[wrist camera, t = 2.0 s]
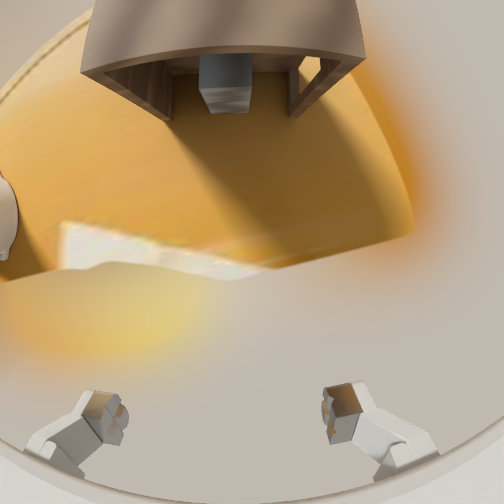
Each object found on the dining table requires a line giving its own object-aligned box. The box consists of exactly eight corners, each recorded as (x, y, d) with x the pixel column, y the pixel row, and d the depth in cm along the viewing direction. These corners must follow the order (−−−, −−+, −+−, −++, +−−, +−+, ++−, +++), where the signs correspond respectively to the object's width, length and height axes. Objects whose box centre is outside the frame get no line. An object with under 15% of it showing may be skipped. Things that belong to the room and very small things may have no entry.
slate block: (211, 114, 33) (198, 89, 22) (211, 81, 32) (200, 46, 20) (248, 113, 33) (252, 87, 22) (247, 80, 32) (251, 44, 21)
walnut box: (163, 121, 33) (79, 72, 12) (165, 70, 31) (99, -11, 10) (297, 117, 34) (365, 58, 13) (294, 66, 31) (349, -24, 10)
